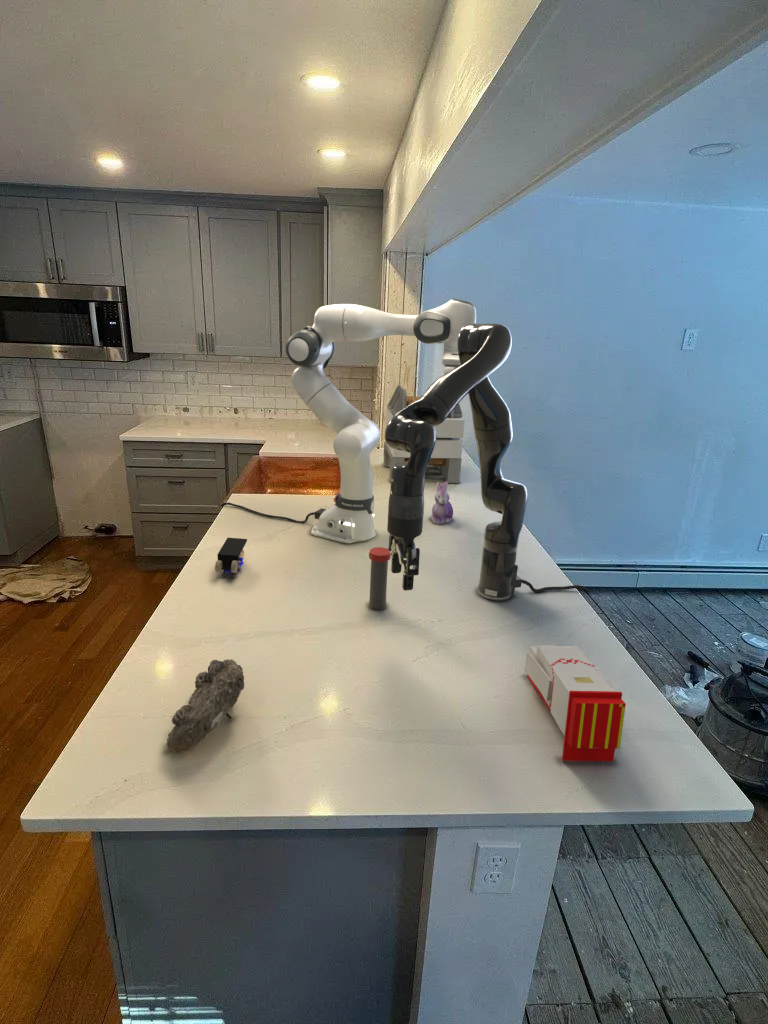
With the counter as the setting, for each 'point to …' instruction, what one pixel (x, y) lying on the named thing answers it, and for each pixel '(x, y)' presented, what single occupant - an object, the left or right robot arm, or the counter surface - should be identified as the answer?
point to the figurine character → (230, 556)
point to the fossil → (206, 705)
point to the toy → (578, 701)
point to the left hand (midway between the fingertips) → (454, 403)
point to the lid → (379, 554)
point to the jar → (378, 584)
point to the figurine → (442, 505)
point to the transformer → (446, 439)
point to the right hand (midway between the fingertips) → (401, 580)
